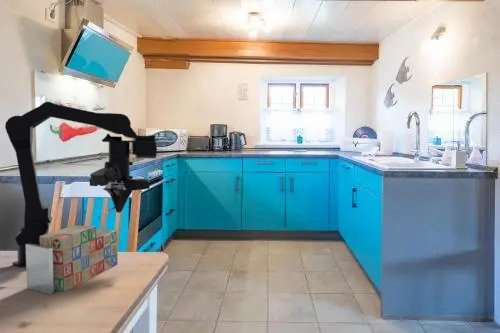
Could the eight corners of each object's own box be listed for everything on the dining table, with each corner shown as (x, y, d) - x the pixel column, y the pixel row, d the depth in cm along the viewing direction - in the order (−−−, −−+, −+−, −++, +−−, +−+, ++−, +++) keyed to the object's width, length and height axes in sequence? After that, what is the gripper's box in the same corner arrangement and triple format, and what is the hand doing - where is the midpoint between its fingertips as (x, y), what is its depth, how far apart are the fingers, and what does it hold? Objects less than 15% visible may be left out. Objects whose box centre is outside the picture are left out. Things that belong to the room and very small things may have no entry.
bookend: (26, 288, 96) (25, 244, 96) (31, 286, 97) (29, 243, 96) (49, 294, 92) (48, 248, 92) (53, 293, 93) (52, 247, 92)
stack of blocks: (97, 262, 116) (96, 218, 116) (118, 264, 115) (117, 219, 114) (40, 289, 96) (38, 235, 95) (64, 292, 94) (62, 237, 93)
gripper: (73, 157, 120) (73, 212, 121) (120, 160, 110) (120, 220, 111) (105, 156, 129) (105, 208, 130) (151, 159, 120) (150, 214, 121)
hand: (118, 212), depth 123 cm, fingers closed
